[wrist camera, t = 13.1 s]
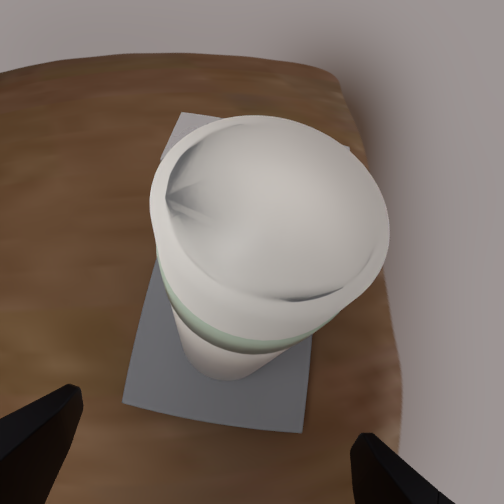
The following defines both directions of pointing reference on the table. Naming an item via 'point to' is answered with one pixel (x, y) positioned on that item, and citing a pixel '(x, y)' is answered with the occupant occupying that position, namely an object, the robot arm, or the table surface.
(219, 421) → the dock mat
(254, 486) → the table surface
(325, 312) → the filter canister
